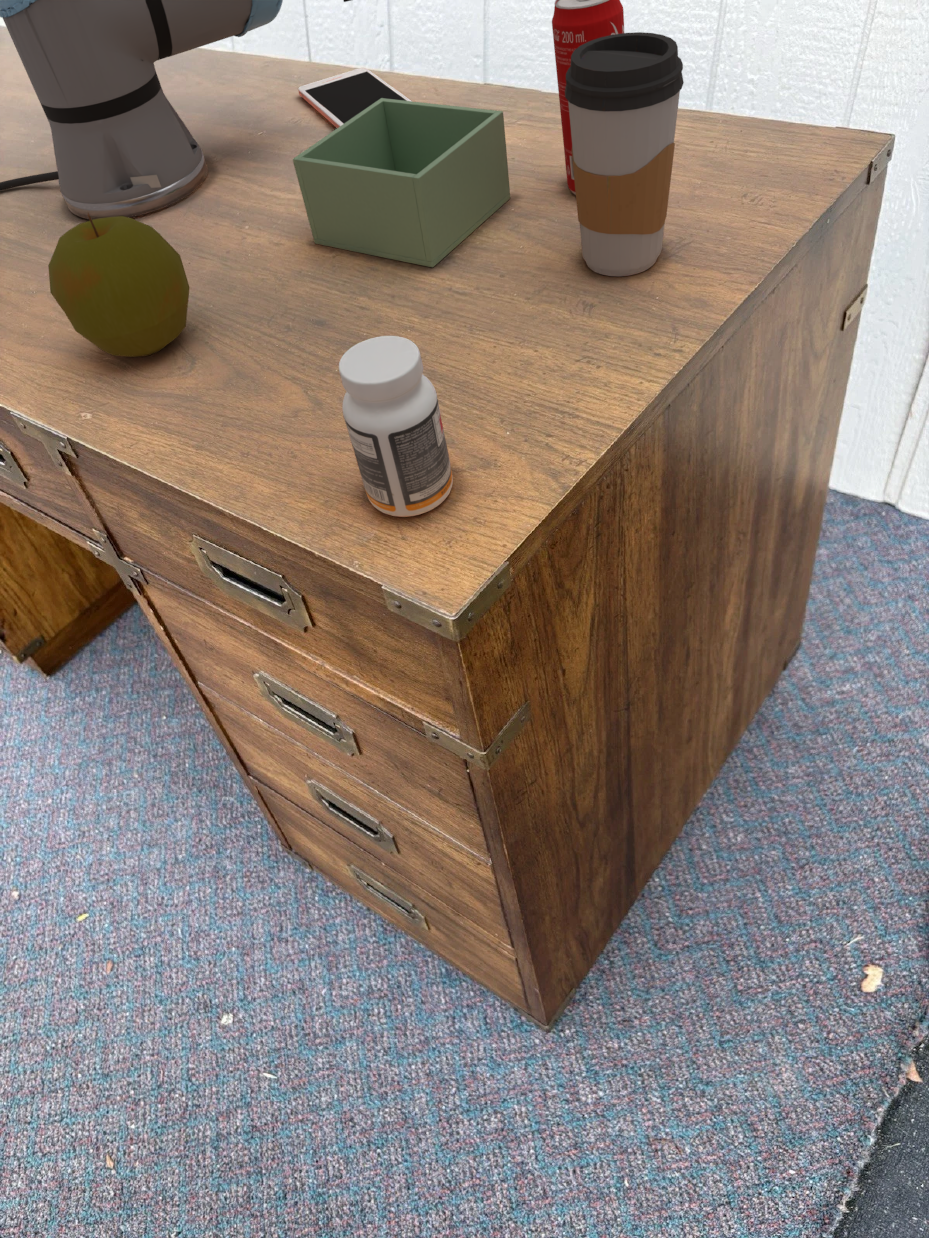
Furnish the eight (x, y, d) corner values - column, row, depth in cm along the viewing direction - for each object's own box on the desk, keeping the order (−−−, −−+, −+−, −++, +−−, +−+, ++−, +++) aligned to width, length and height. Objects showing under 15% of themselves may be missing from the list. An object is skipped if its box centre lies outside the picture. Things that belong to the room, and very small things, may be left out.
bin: (314, 243, 80) (292, 159, 75) (396, 180, 87) (381, 98, 81) (433, 268, 75) (418, 178, 69) (510, 198, 81) (503, 111, 76)
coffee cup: (606, 225, 76) (606, 25, 64) (693, 245, 72) (708, 36, 60) (550, 270, 72) (539, 66, 61) (638, 294, 68) (643, 81, 57)
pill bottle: (452, 457, 58) (429, 323, 51) (455, 515, 55) (430, 380, 47) (368, 467, 59) (332, 336, 51) (365, 526, 55) (326, 394, 47)
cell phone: (351, 142, 94) (349, 133, 93) (298, 95, 105) (296, 87, 105) (425, 118, 96) (424, 109, 95) (365, 75, 107) (364, 66, 106)
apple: (224, 312, 74) (176, 180, 66) (174, 380, 69) (113, 245, 60) (123, 309, 77) (63, 182, 69) (66, 375, 71) (-7, 245, 63)
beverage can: (627, 199, 78) (630, 3, 67) (555, 202, 80) (545, 10, 68) (632, 170, 82) (636, -22, 71) (563, 173, 83) (556, -15, 72)
